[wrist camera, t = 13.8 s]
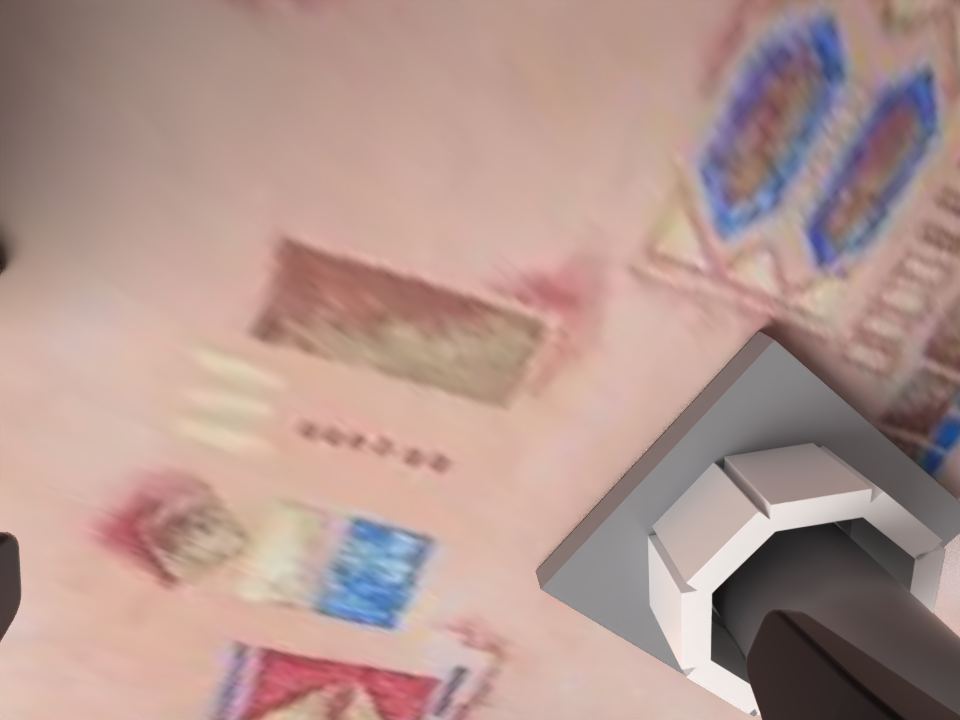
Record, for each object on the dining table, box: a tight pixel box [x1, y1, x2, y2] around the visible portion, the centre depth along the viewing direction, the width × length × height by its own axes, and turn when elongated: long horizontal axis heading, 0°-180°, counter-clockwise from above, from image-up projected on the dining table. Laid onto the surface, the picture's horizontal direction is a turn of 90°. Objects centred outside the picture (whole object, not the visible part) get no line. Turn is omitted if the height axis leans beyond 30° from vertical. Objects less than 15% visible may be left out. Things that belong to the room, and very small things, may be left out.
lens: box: [712, 522, 960, 715], centre depth 17 cm, size 5×5×12 cm
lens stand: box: [536, 331, 960, 716], centre depth 22 cm, size 12×12×4 cm
